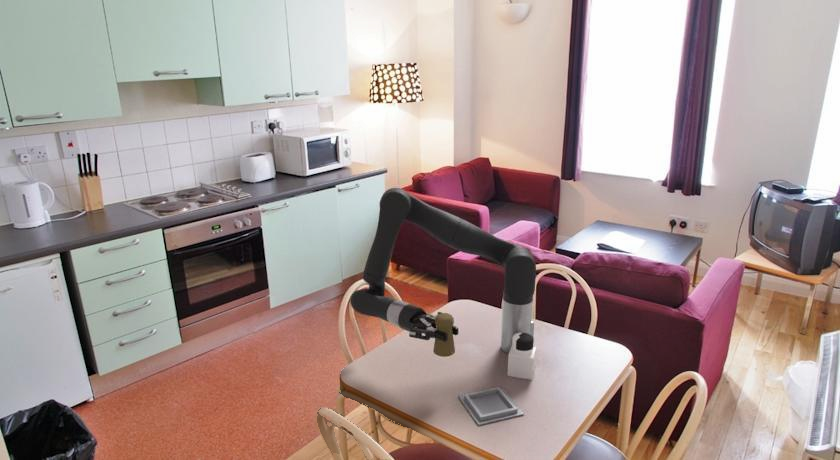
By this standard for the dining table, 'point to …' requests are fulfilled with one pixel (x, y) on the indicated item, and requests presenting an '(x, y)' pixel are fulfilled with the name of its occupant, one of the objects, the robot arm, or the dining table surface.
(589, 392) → the dining table surface
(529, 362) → the medicine bottle
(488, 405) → the grey flat square tray
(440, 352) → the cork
